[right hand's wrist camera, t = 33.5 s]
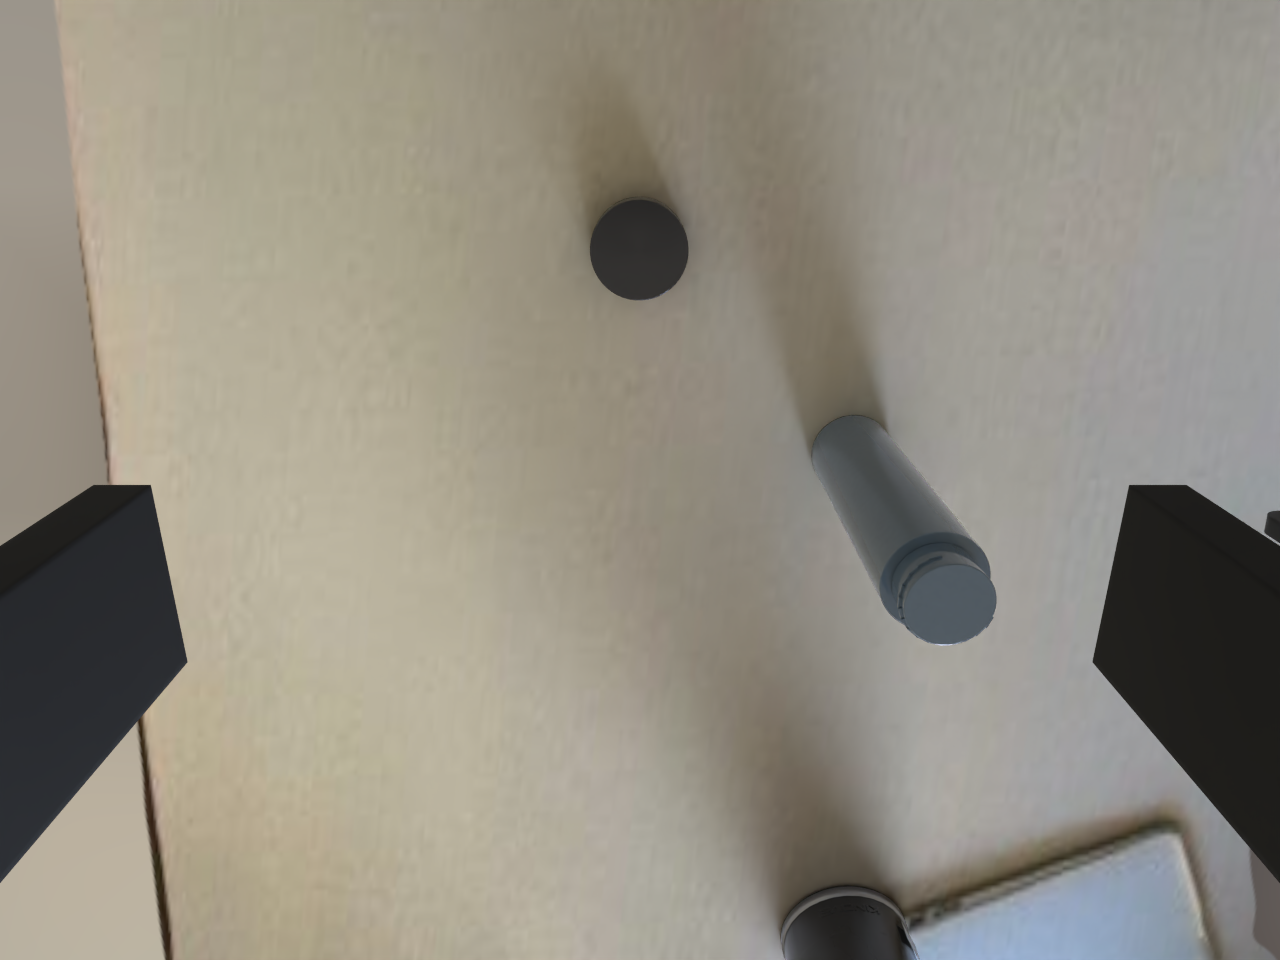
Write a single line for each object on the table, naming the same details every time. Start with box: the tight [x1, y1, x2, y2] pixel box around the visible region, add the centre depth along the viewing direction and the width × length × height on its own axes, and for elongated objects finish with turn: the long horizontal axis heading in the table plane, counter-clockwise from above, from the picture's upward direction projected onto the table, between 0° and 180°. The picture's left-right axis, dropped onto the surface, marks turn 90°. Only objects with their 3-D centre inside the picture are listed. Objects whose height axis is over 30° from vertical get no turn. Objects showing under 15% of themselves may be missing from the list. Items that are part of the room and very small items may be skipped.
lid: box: [590, 197, 688, 300], centre depth 50 cm, size 5×5×2 cm
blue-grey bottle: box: [812, 415, 996, 645], centre depth 46 cm, size 5×5×19 cm
